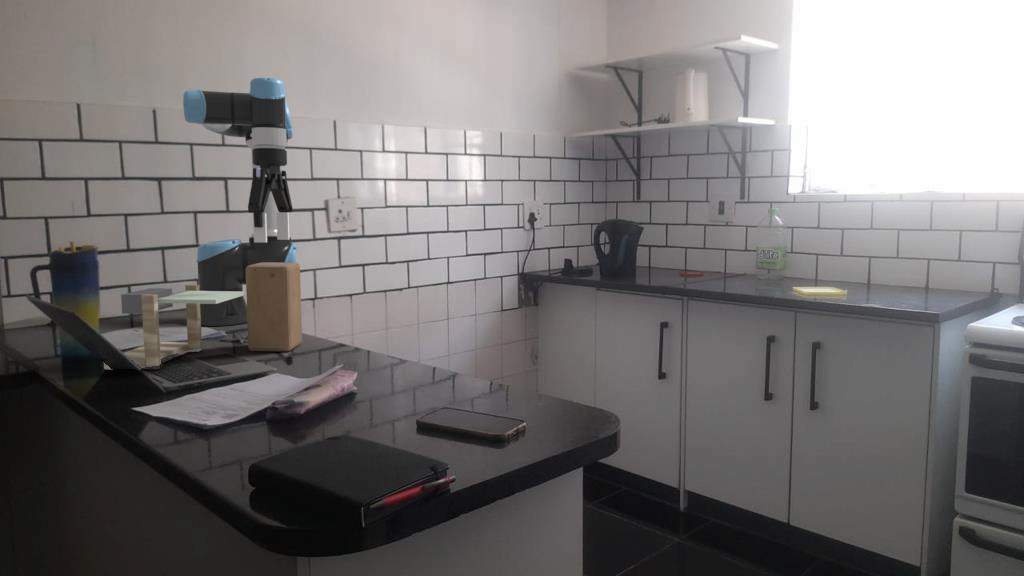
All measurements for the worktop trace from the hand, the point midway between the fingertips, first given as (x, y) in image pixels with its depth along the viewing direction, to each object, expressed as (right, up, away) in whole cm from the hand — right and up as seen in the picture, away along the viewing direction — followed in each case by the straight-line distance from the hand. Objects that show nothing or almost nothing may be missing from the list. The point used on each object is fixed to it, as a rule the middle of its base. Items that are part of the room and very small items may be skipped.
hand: (272, 241), depth 170 cm
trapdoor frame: (-22, -27, -10) cm, 36 cm away
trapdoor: (-15, -16, -12) cm, 25 cm away
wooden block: (0, -25, +3) cm, 26 cm away
